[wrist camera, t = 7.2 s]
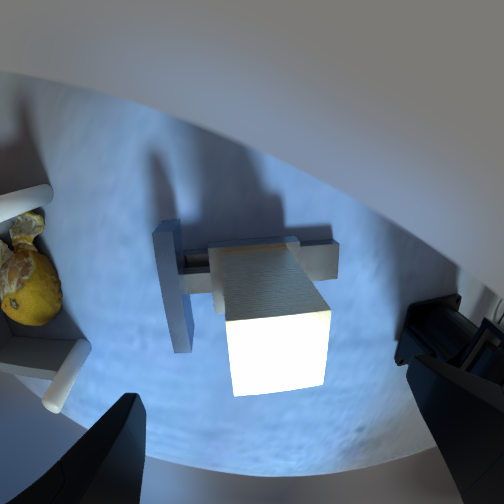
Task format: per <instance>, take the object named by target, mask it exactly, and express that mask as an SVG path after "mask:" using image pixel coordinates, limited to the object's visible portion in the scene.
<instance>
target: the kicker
mask: <svg viewBox="0 0 504 504" xmlns="http://www.w3.org/2000/svg"><path fill="white" fill-rule="evenodd" d="M152 237H153V244H154V250H155V257H156V263H157V269H158V275H159V281H160V287H161V292H162V298H163V303H164V308H165V313H166V318H167V322H168V327H169V332H170V336H171V341H172V345H173V349H174V353H192V345H193V335H194V327H195V326H194V320H193V314H192V308H191V301H190V294H195V293H210V292H213V300H214V309H215V313H225V320H226V330H227V339H228V348H229V357H230V366H231V374H232V382H233V390H234V396H240V395H251V394H260V393H269V392H277V391H284V390H291V389H297V388H304V387H309V386H315V385H321V384H323V378H324V370H325V363H326V355H327V347H328V338H329V329H330V319H331V309H330V307H329V306H328V305H327V303H326V302H325V300H324V299H323V297H322V296H321V294H320V293H319V292H318V290H317V289H316V287H315V286H314V284H313V283H312V282H311V280H310V279H309V277H308V276H307V275H306V273H305V272H304V270H303V269H302V267H301V266H300V241H299V240H298V239H297V238H296V237H295V236H284V237H270V238H256V239H242V240H229V241H216V242H209V245H208V253H209V263H210V266H206V267H193V268H186V266H185V258H184V250H183V241H182V233H181V224H180V219H174V220H164V221H162V222H161V223H160V224H159V226H158V227H157V228H156V229H155V230H154V232H153V233H152Z"/></svg>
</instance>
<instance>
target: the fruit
mask: <svg viewBox="0 0 504 504" xmlns="http://www.w3.org/2000/svg"><path fill="white" fill-rule="evenodd" d="M23 215H26V216H27V217H28V220H27V221H26V220H25V219H24V218H23ZM18 219H19V220H15V222H14V225H13V226H12V227H11V228H10V229H9V231H10V236H11V239H12V245H13V246H14V251H11V250H10V249H9V248H8V244H5V243H4V242H2V240H0V297H1V308H2V310H3V311H4V312H5V313H6V314H7V315H8V316H9V317H10V318H11V319H13V320H14V321H17V322H19V323H21V324H24V325H32V326H41V325H44V324H47V323H48V322H50V321H51V320H52V319H55V318H56V315H57V314H58V312H59V310H60V307H61V305H62V297H63V296H62V292H61V290H60V286H61V281H60V280H59V279H58V277H57V274H56V270H55V269H54V268H53V265H52V264H51V262H50V260H49V257H47V256H45V255H42V254H39V253H38V251H37V249H36V248H35V246H34V245H33V243H32V242H33V239H34V237H35V236H36V235H37V234H40V233H42V232H43V229H44V225H45V221H44V219H43V217H42V216H41V215H39V214H38V215H37V214H36V213H34V212H33V210H30V211H27V212H25V213H22V214H20V215H18Z"/></svg>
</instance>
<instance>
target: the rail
mask: <svg viewBox="0 0 504 504" xmlns="http://www.w3.org/2000/svg"><path fill="white" fill-rule="evenodd" d="M184 258H185V266H186V268H193V267H206V266H210V263H209V253H208V249H197V250H184ZM338 261H339V243H338V242H337V241H335V240H334V239H331V240H317V241H303V242H300V266H301V267H302V269H303V270H304V272H305V273H306V275H307V276H308V277H309V279H310V280H311V281H321V280H330V279H337V276H338Z"/></svg>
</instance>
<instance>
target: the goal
mask: <svg viewBox="0 0 504 504" xmlns="http://www.w3.org/2000/svg"><path fill="white" fill-rule="evenodd" d="M52 198H53V190H52V188H51V186H50V185H48V184H42V185H38V186H34V187H30V188H26V189H22V190H18V191H15V192H11V193H7V194H4V195H1V196H0V222H3V221H5V220H7V219H10V218H12V217H15V216H17V215H20V214H22V213H25V212H27V211H30V210H32V209H35V208H38V207H40V206H43V205H46V204H48V203H50V202H51V200H52ZM91 349H92V347H91V345H90V343H89V342H88V341H87V340H85V339H78V340H58V339H42V338H29V337H17V336H13V335H12V332H11V330H10V328H9V325H8V323H7V320H6V318H5V315H4V312H3V310H2V308H1V304H0V371H3V372H7V373H12V374H17V375H22V376H28V377H34V378H40V379H46V380H53V381H52V383H51V384H50V386H49V388H48V390H47V392H46V393H45V395H44V397H43V399H42V403H43V405H44V406H45V407H46V408H47V409H48V410H49V411H51V412H53V413H60V411H61V409H62V407H63V404H64V402H65V400H66V398H67V396H68V394H69V392H70V390H71V388H72V386H73V384H74V382H75V380H76V378H77V376H78V374H79V372H80V370H81V368H82V367H83V365H84V363H85V361H86V359H87V357H88V355H89V353H90V352H91Z"/></svg>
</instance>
